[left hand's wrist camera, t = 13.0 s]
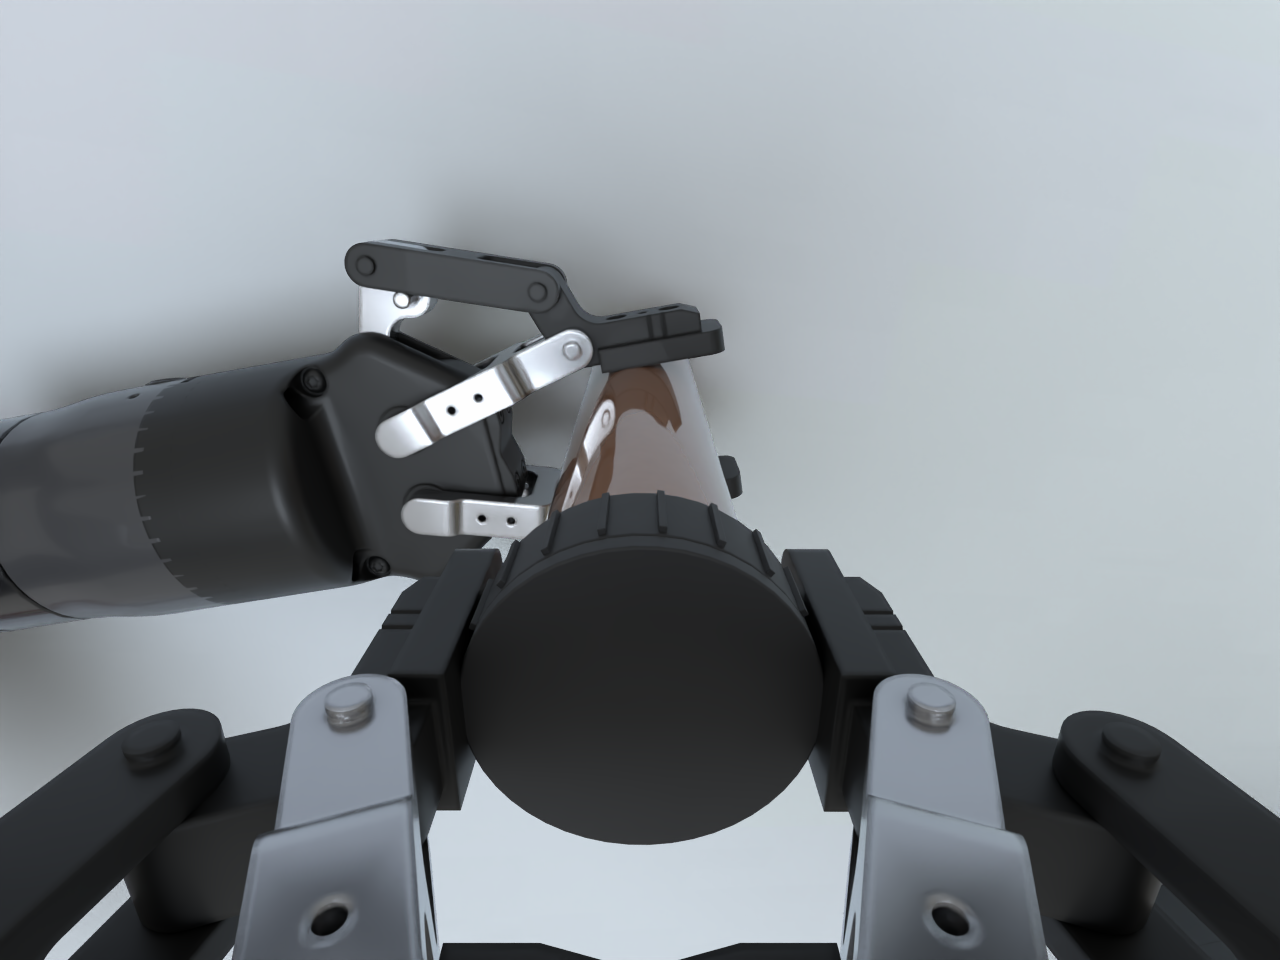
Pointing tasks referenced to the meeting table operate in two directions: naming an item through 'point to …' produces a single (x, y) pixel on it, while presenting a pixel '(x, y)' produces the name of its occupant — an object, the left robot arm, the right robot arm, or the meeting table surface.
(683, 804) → the lid
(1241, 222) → the meeting table surface
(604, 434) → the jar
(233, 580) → the right robot arm
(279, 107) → the meeting table surface
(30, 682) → the meeting table surface
